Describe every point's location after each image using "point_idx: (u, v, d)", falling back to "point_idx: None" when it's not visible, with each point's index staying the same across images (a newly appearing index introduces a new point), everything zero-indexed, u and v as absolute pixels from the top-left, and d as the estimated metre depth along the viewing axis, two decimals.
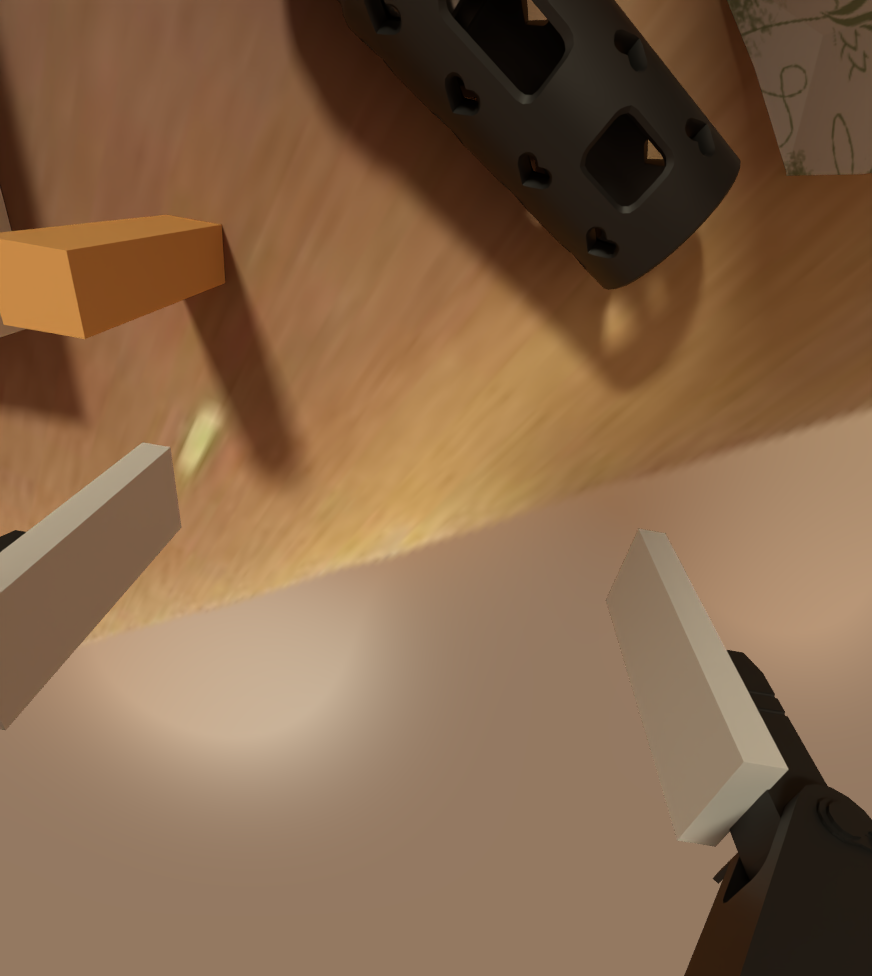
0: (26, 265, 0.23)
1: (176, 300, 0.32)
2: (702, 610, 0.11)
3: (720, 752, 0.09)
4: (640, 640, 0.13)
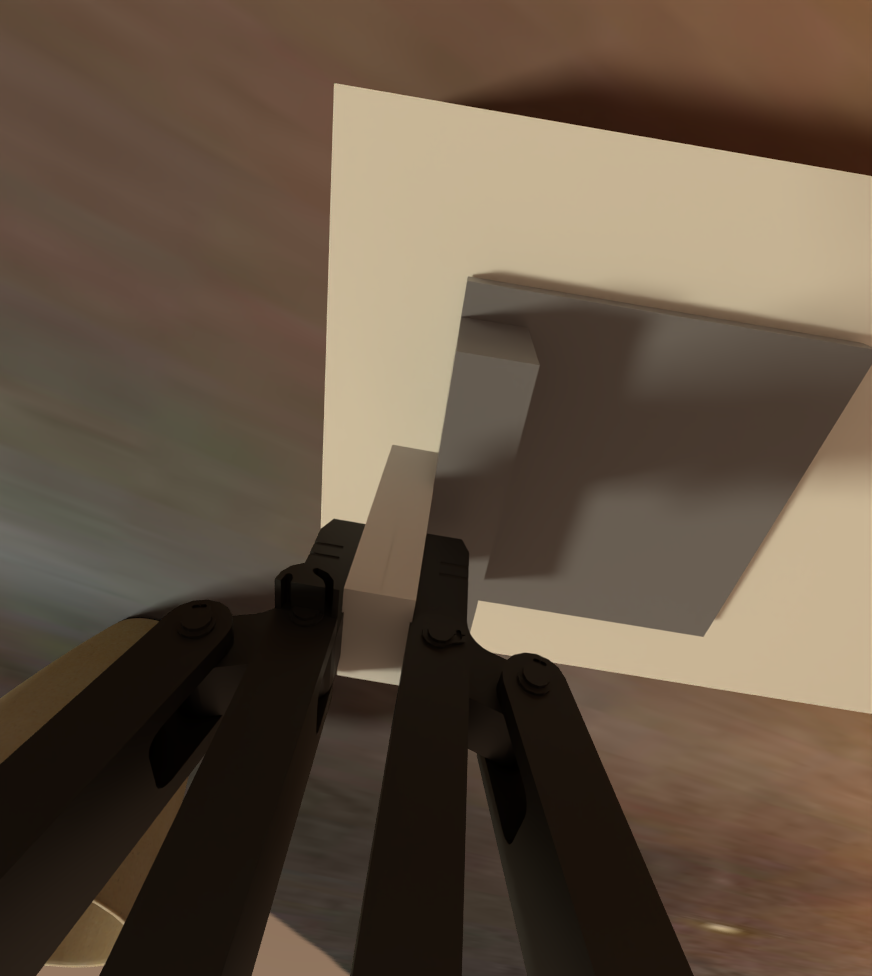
0: None
1: None
2: (428, 503, 0.13)
3: None
4: None
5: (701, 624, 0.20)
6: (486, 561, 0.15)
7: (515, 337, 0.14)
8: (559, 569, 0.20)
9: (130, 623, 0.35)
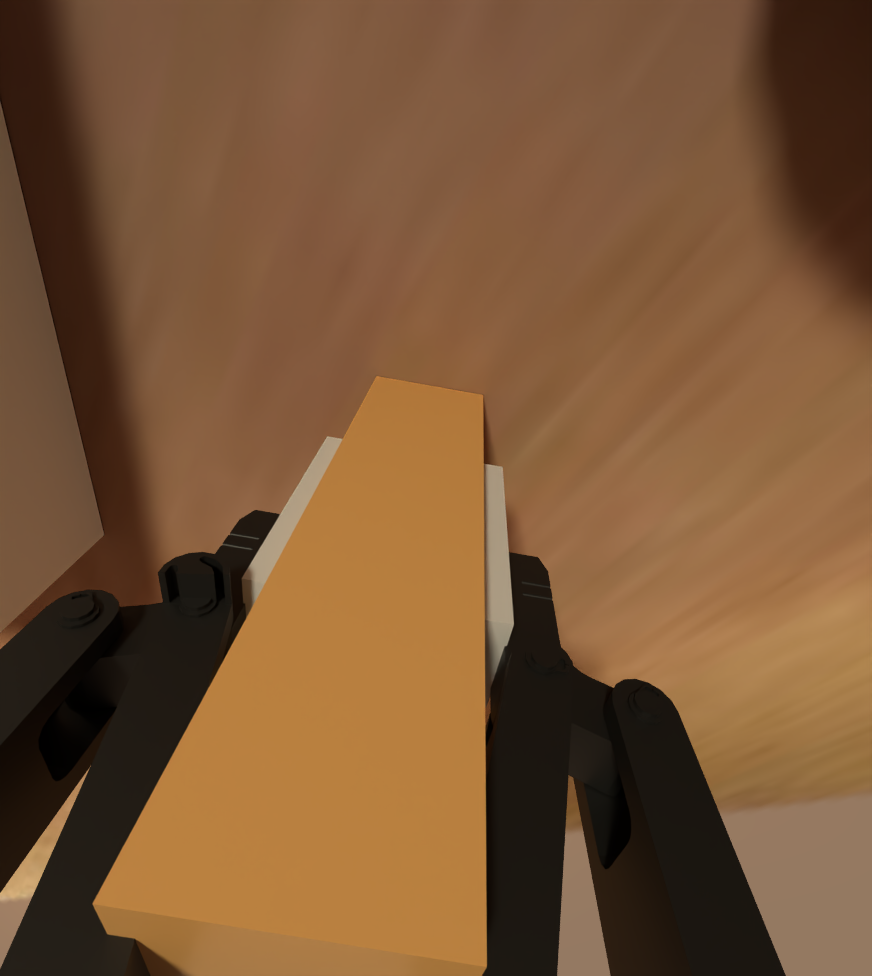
0: (286, 967, 0.06)
1: None
2: (503, 521, 0.13)
3: None
4: None
5: None
6: None
7: None
8: None
9: None
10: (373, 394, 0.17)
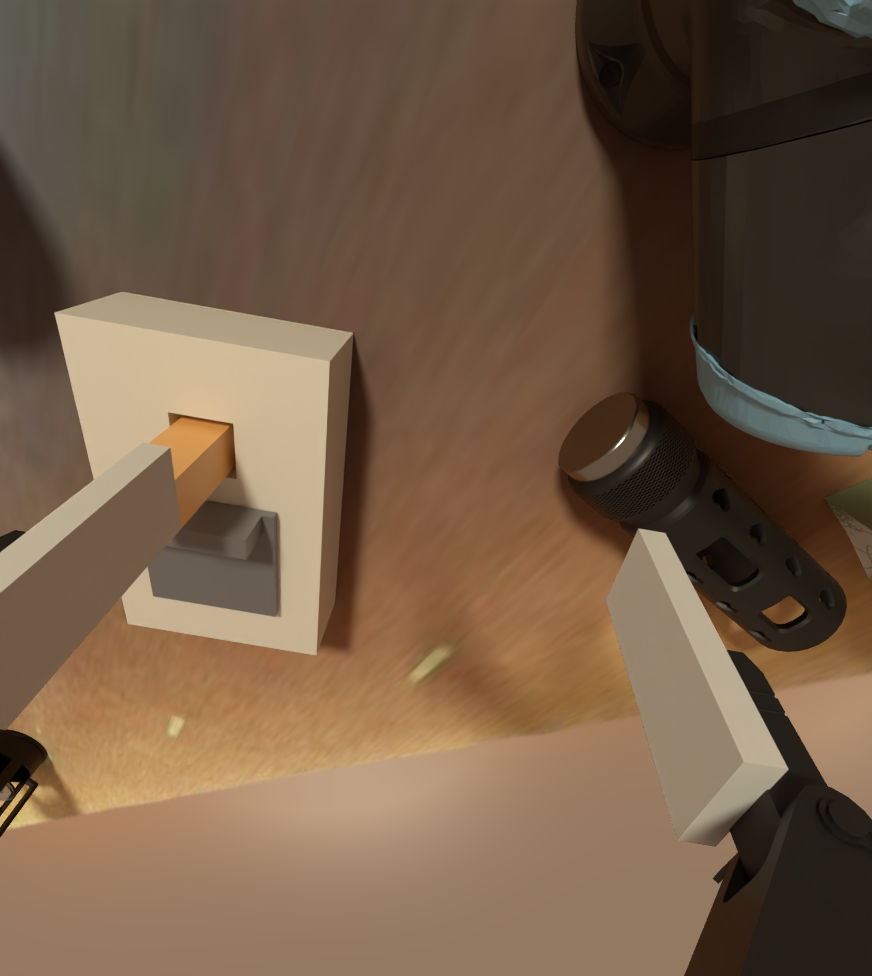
0: None
1: (225, 475, 0.42)
2: (702, 610, 0.11)
3: (720, 752, 0.09)
4: (640, 640, 0.13)
5: (159, 594, 0.49)
6: (172, 546, 0.41)
7: (256, 539, 0.43)
8: (167, 547, 0.46)
9: None
10: None
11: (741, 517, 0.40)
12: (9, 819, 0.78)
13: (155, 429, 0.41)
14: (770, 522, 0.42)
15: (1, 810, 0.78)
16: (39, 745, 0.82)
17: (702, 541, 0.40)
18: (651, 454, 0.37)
